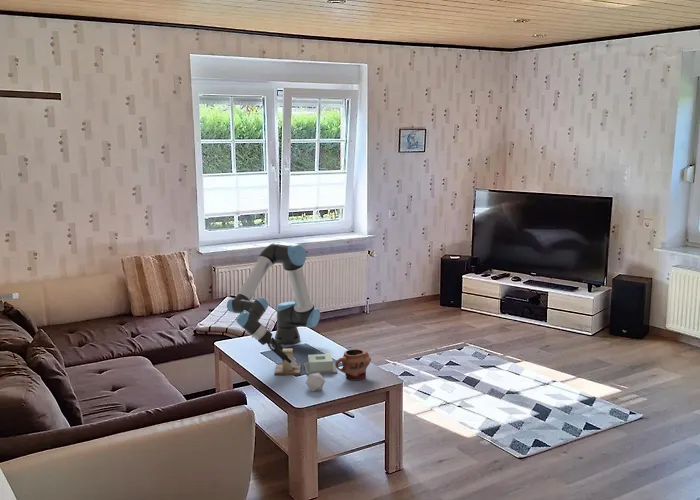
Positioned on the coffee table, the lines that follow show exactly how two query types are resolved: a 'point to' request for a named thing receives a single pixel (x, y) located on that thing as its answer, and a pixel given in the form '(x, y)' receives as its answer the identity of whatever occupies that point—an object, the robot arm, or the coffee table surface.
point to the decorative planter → (354, 364)
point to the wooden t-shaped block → (287, 365)
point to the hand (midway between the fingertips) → (294, 363)
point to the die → (315, 381)
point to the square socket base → (320, 364)
